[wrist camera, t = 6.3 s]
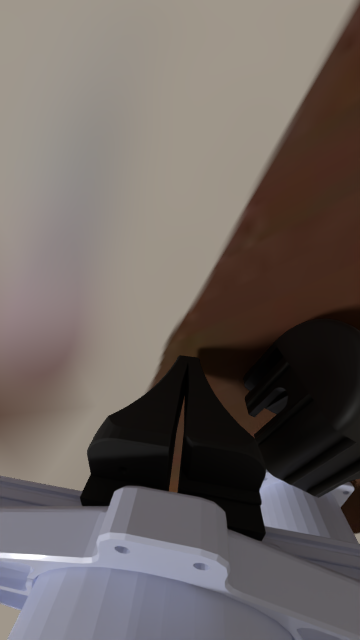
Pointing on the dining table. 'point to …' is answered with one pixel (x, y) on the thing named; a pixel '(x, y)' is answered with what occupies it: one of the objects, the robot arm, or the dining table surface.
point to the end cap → (310, 405)
